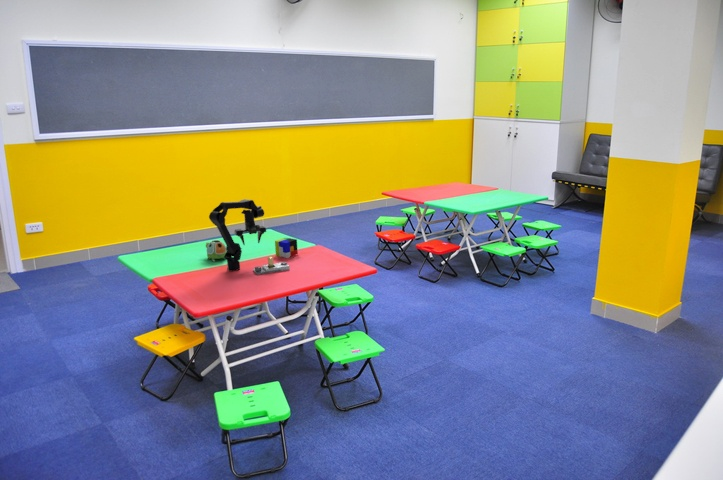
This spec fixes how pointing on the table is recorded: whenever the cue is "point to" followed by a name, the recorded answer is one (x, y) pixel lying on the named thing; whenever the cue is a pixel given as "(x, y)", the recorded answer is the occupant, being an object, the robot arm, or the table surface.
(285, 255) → the puzzle toy
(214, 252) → the turtle holder
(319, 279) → the table surface
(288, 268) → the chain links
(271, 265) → the brass pin
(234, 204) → the robot arm
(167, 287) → the table surface
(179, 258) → the table surface
